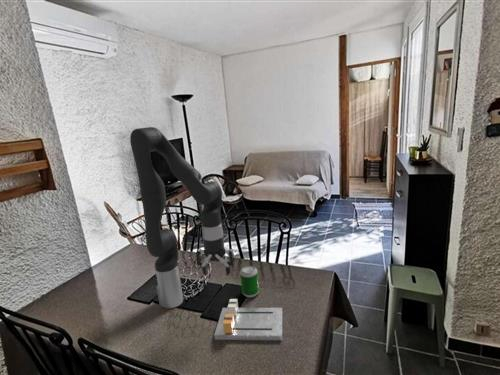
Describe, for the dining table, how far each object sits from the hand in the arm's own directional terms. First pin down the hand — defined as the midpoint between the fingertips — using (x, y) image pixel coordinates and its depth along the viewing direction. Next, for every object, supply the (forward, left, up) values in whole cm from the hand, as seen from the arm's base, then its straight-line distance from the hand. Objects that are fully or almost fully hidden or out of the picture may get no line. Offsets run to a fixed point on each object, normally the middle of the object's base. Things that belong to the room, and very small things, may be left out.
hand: (217, 274), depth 113 cm
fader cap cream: (+5, -1, -16) cm, 17 cm away
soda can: (+10, +15, -19) cm, 26 cm away
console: (+12, -5, -18) cm, 23 cm away
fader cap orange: (+5, -10, -16) cm, 20 cm away
